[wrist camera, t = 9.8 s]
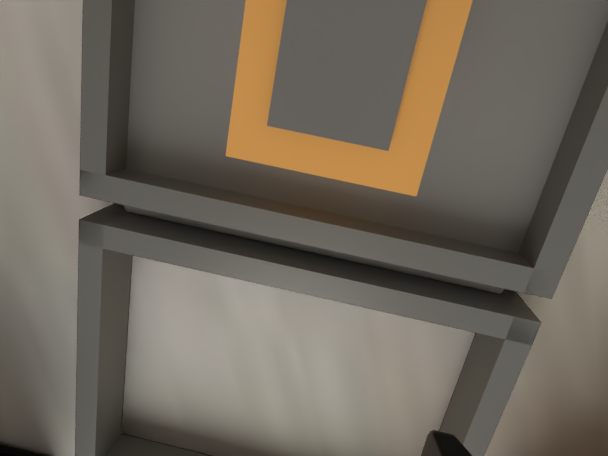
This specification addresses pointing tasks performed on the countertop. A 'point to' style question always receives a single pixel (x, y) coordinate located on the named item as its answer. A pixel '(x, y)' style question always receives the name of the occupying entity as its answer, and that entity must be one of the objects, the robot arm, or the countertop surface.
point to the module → (344, 86)
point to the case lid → (349, 196)
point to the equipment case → (289, 276)
